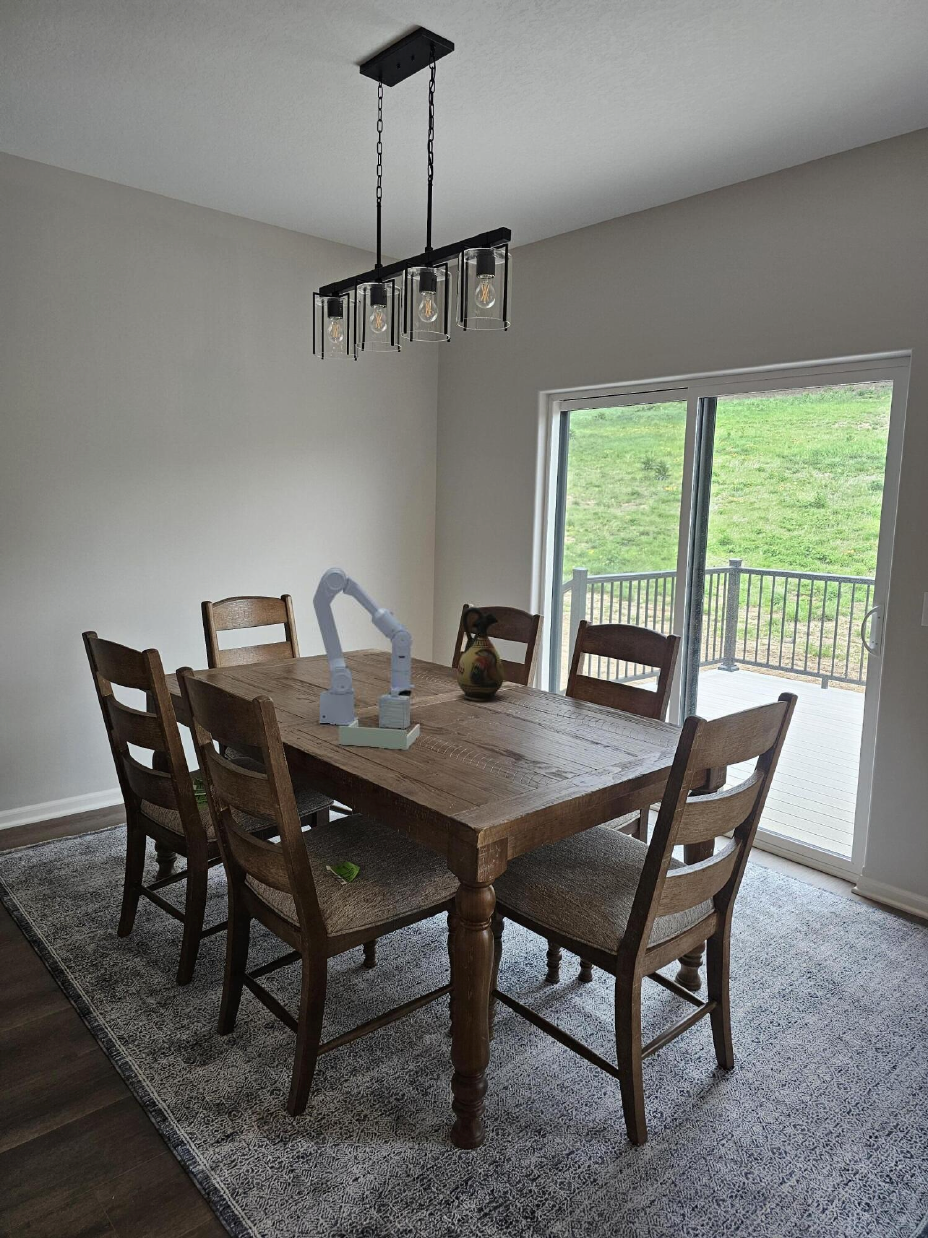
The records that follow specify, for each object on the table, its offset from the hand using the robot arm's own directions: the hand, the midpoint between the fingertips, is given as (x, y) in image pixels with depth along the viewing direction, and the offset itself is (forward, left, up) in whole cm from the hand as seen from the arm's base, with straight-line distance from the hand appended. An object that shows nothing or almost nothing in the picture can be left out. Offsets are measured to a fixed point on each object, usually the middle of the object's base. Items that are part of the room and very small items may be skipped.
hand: (400, 715), depth 236 cm
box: (0, -21, -1) cm, 21 cm away
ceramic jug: (+17, +34, -2) cm, 38 cm away
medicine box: (0, -7, -2) cm, 7 cm away
